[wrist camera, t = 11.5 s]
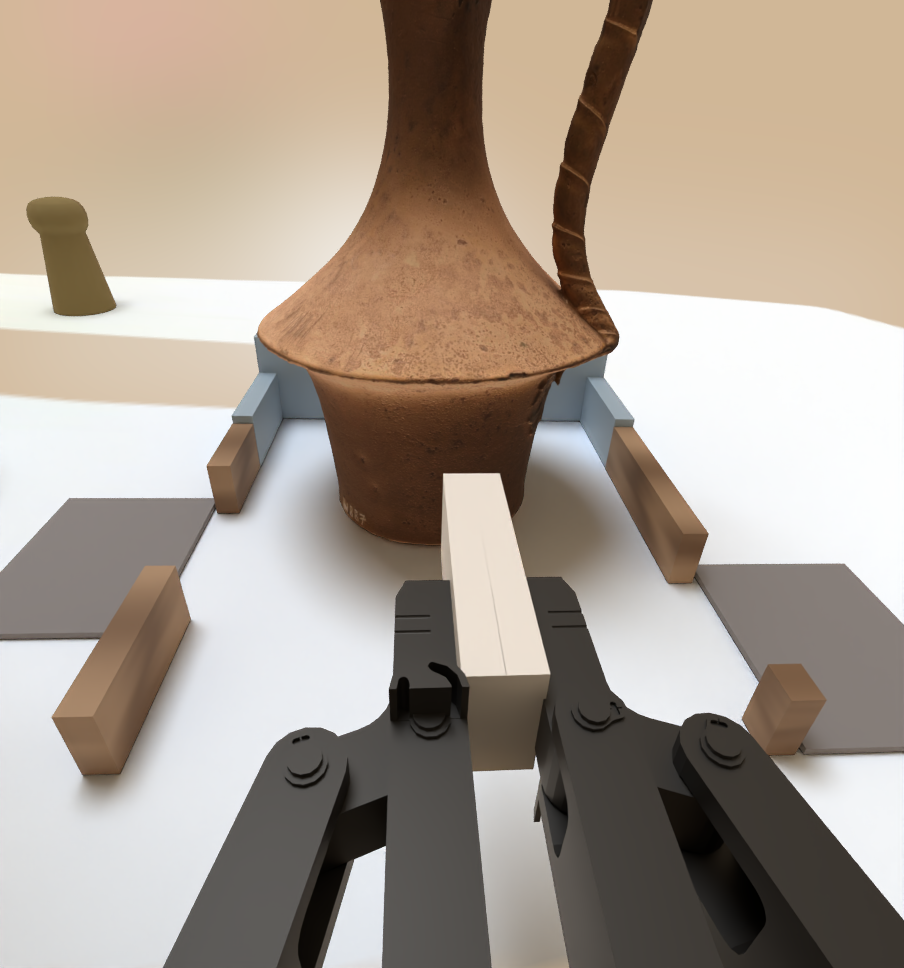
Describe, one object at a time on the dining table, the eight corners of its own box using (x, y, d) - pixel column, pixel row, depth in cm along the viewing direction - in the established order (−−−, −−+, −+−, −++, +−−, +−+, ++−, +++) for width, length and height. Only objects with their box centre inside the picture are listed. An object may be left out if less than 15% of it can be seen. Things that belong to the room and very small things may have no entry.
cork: (64, 301, 65) (29, 194, 59) (122, 300, 66) (94, 194, 61) (45, 316, 60) (5, 200, 54) (108, 315, 62) (76, 201, 56)
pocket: (623, 468, 37) (643, 381, 34) (241, 466, 36) (224, 375, 33) (591, 414, 44) (604, 337, 41) (269, 410, 43) (258, 331, 40)
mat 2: (1014, 748, 21) (1018, 743, 21) (803, 754, 20) (806, 749, 20) (841, 568, 29) (844, 563, 29) (690, 569, 29) (691, 564, 29)
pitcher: (595, 452, 39) (705, -129, 24) (566, 628, 25) (785, -484, 10) (356, 413, 43) (326, -108, 28) (217, 548, 29) (9, -345, 14)
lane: (794, 754, 20) (827, 700, 19) (82, 774, 19) (51, 717, 17) (623, 468, 37) (632, 426, 36) (240, 466, 36) (232, 423, 34)
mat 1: (147, 637, 24) (145, 631, 24) (-55, 639, 23) (-58, 634, 23) (217, 502, 32) (217, 498, 32) (71, 502, 32) (69, 498, 32)
